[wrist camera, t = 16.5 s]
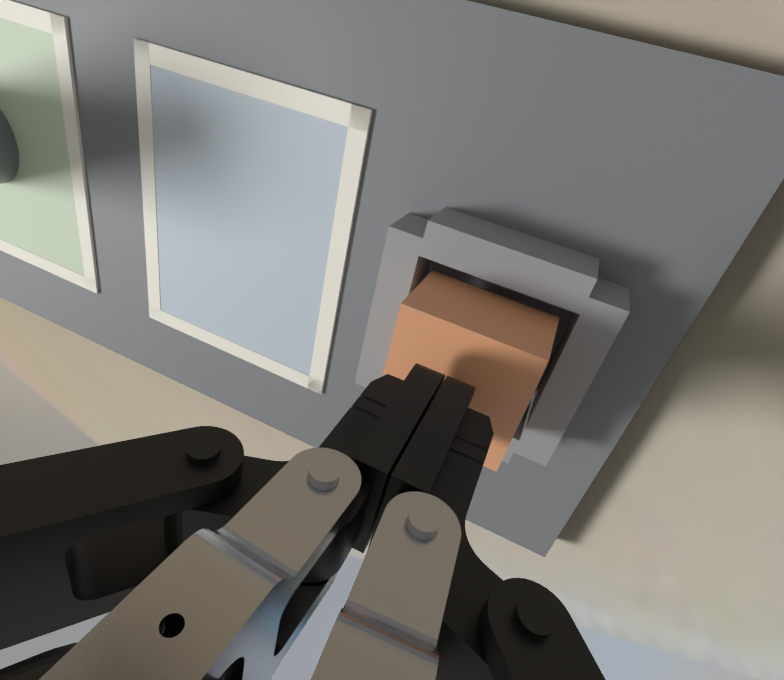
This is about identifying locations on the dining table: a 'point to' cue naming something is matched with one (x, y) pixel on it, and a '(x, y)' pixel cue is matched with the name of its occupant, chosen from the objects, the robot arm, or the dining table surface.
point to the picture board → (377, 202)
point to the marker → (7, 151)
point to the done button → (475, 348)
